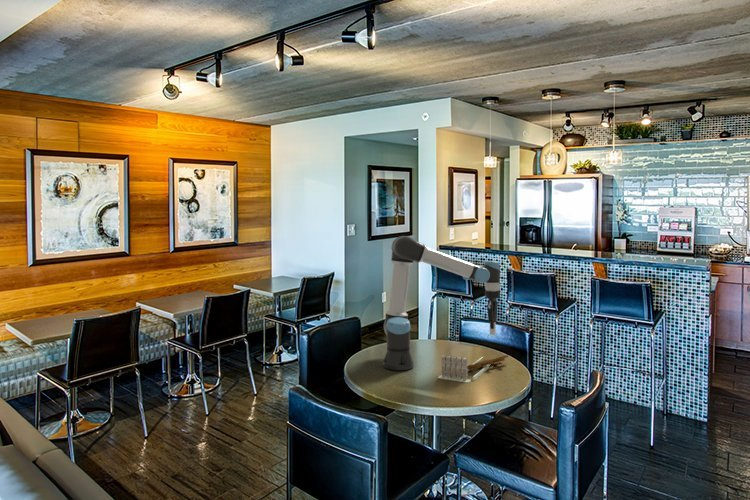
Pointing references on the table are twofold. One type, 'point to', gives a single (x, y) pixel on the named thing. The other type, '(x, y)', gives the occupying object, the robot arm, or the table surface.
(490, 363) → the brown branch
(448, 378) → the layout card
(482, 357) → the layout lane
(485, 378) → the table surface
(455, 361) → the fixed fence segment
